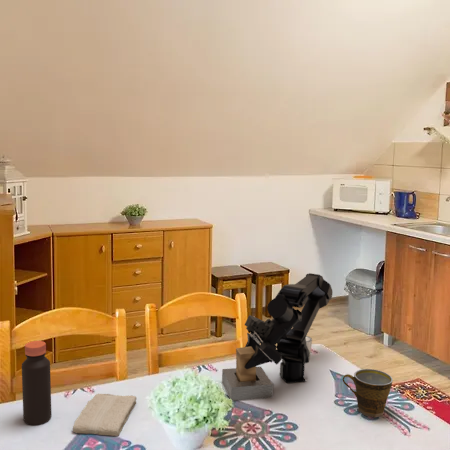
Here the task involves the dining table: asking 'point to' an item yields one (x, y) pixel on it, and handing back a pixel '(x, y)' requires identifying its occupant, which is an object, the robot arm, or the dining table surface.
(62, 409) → the dining table surface
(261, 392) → the socket block
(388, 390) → the ceramic cup
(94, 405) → the washcloth
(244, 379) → the oak peg
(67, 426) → the dining table surface
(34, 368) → the bottle
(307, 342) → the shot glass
